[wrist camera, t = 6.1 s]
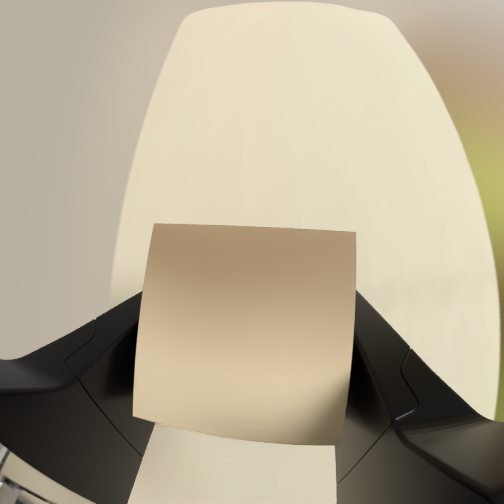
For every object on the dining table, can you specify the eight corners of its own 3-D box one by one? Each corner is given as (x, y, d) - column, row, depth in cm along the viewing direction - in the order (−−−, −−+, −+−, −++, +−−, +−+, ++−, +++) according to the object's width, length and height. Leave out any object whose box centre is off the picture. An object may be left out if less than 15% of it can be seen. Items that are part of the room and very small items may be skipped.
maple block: (306, 373, 14) (340, 445, 4) (229, 366, 14) (132, 415, 5) (312, 296, 15) (356, 232, 5) (236, 291, 15) (153, 223, 6)
